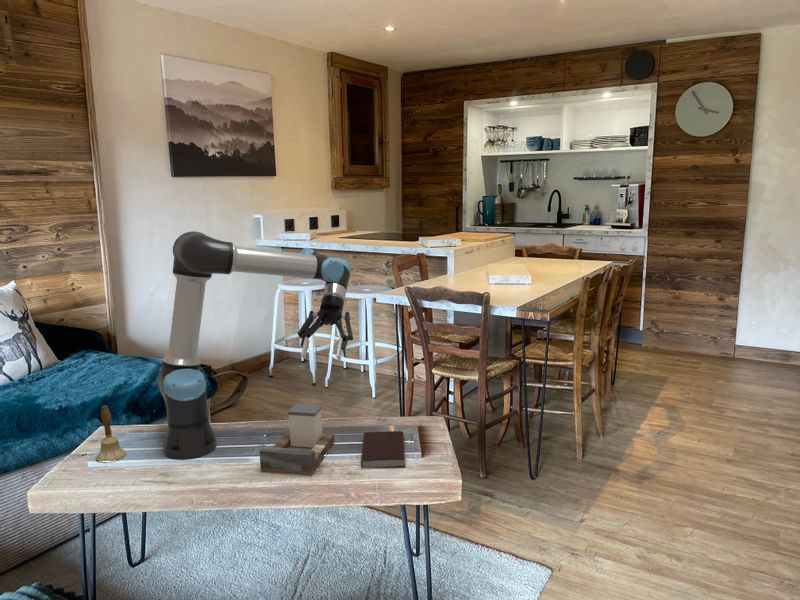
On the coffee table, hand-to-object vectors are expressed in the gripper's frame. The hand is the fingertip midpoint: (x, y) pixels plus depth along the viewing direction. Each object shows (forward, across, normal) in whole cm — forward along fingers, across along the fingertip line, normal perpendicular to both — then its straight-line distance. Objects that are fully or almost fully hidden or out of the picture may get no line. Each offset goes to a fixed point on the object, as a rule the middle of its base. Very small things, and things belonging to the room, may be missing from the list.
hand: (320, 357), depth 198 cm
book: (+28, -24, -6) cm, 37 cm away
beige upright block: (+27, 0, -4) cm, 27 cm away
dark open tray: (+32, 0, 0) cm, 32 cm away
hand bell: (+39, +55, +6) cm, 68 cm away
